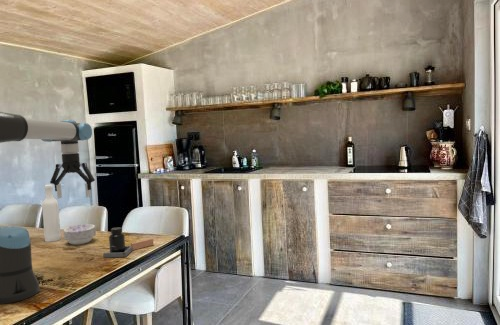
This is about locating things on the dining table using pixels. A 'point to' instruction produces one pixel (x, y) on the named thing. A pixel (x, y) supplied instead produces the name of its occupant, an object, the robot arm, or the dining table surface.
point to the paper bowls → (79, 233)
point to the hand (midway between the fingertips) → (73, 197)
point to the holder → (130, 248)
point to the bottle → (51, 216)
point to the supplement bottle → (117, 240)
